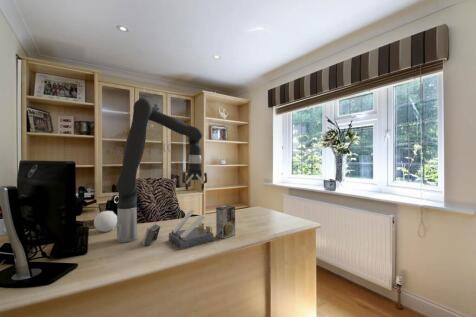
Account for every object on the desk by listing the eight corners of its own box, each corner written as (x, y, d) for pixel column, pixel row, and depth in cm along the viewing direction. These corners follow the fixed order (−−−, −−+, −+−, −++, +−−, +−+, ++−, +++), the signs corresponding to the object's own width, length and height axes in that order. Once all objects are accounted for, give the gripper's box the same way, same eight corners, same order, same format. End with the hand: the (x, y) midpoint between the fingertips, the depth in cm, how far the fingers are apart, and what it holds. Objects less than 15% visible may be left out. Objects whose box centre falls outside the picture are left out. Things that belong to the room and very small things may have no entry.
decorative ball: (121, 230, 138) (121, 210, 138) (99, 236, 128) (99, 214, 128) (111, 226, 145) (111, 208, 145) (90, 231, 135) (90, 211, 135)
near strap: (182, 239, 111) (181, 238, 111) (180, 238, 113) (179, 236, 113) (204, 218, 118) (203, 216, 118) (202, 217, 121) (200, 215, 120)
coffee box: (228, 232, 134) (227, 204, 134) (235, 235, 129) (235, 206, 129) (215, 236, 127) (215, 207, 127) (223, 239, 123) (223, 209, 123)
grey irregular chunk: (150, 239, 123) (151, 222, 123) (159, 240, 123) (161, 223, 122) (141, 246, 114) (143, 227, 113) (152, 247, 113) (153, 228, 113)
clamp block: (180, 249, 109) (180, 235, 109) (168, 240, 121) (168, 227, 121) (213, 241, 120) (213, 227, 120) (199, 233, 132) (199, 221, 132)
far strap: (175, 234, 118) (174, 233, 118) (173, 233, 121) (172, 232, 120) (194, 211, 125) (192, 210, 124) (191, 210, 127) (190, 209, 126)
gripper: (182, 162, 131) (181, 191, 131) (207, 163, 133) (207, 191, 133) (183, 162, 138) (183, 189, 138) (207, 162, 140) (206, 189, 140)
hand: (194, 190), depth 136 cm, fingers open, 8 cm apart
